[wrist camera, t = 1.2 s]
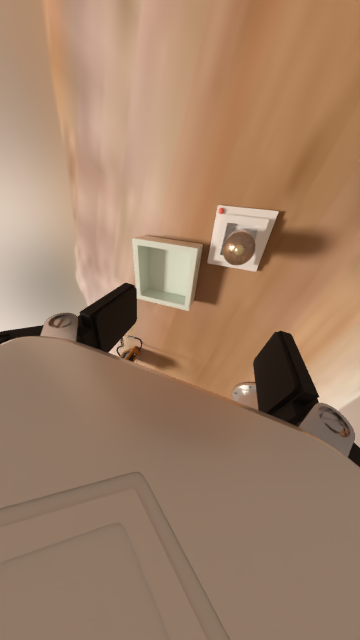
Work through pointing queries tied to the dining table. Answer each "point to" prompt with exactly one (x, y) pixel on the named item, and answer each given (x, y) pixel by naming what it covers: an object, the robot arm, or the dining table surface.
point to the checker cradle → (245, 218)
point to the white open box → (166, 270)
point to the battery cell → (239, 247)
